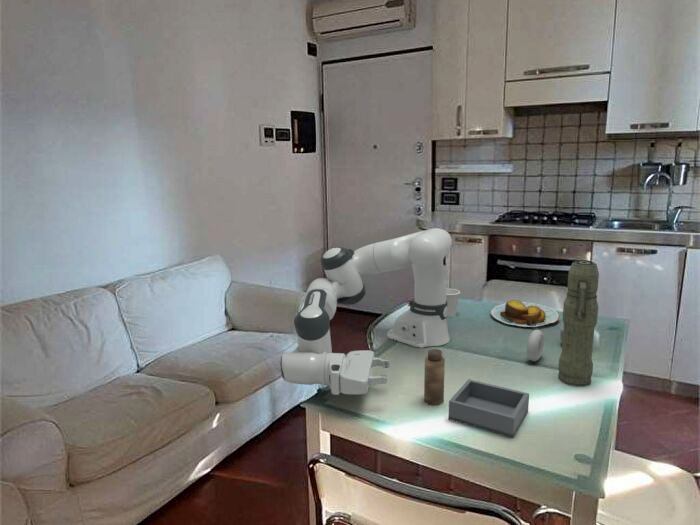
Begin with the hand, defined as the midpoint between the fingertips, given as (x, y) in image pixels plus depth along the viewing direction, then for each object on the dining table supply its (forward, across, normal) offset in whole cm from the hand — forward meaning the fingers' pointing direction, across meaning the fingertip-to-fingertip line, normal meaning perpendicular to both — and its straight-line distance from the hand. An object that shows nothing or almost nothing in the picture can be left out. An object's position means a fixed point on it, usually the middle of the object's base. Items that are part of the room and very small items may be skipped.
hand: (388, 371), depth 133 cm
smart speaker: (+60, -42, -8) cm, 74 cm away
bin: (+26, +6, -8) cm, 28 cm away
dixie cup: (+20, -71, -8) cm, 75 cm away
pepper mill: (+12, 0, -8) cm, 15 cm away
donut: (+44, -29, -8) cm, 54 cm away
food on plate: (+49, -70, -8) cm, 86 cm away
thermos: (+53, -16, -8) cm, 56 cm away
